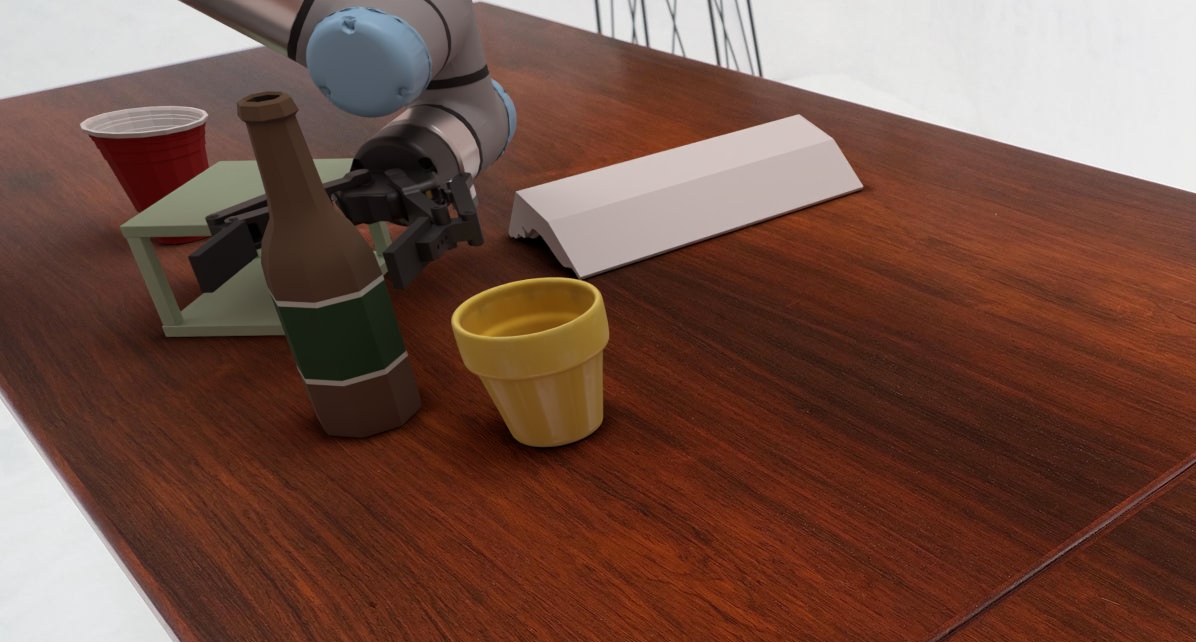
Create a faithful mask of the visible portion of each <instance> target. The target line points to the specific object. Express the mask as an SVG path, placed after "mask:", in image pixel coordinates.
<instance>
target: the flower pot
mask: <svg viewBox="0 0 1196 642" xmlns="http://www.w3.org/2000/svg"><path fill="white" fill-rule="evenodd" d="M450 319H451V321H450V323H451V329H452V331H453V332H452V333H453V335H454V339H455V342H456V346H457V348H458V352H459V354H460V356H461V359H462V362H463V364H464V366H465V367H466V368H467V370H469V372H471V373H472V374H475V375H476V376H478V377H479V379H480V381H481V383H482V385H483V386H484V388H485V389H486V391H487V393H488V395H489V396H490V398H491V400H492V401H493V403H494V405H495V407H496V409H497V411H498V413H499V414H500V416H501V418H502V420H503V421H504V423H505V425H506V427H507V428H508V429H507V430H509V433H510V434H511V435H512V437H513V438H514V439H515V440H516V441H517V442H519V443H520V444H523V445H526V446H529V447H534V448H535V447H536V448H551V447H560V446H564V445H568V444H572V443H575V442H578V441H581V440H583V439H585V438H587V437H589V436H590V435H592V434H594V433H595V431H597V430H598V429H599V427H600V426H601V425H602V423H603V419H604V379H603V378H604V368H603V367H604V349H605V348H606V347H607V345H608V343H609V340H610V328H609V321H608V316H607V311H606V306H605V303H604V299H603V296H602V294H601V291H600V290H599V289H598V288H597V287H596V286H594V285H593V284H592V283H590V282H587V281H585V280H582V279H581V280H579V279H576V278H571V277H570V278H569V277H536V278H535V277H534V278H529V279H523V280H522V279H521V280H516V281H511V282H508V283H504V284H501V285H497V286H494V287H491V288H488V289H486V290H484V291H481V292H479V293H477V294H475V295H473V296H471V297H470V298H468V299H466V300H465V301H463V303H461V304H459V306H458V307H457V308H456V309H455V310H454V312H453V314H452V315H451V318H450Z"/></svg>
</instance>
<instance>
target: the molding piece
mask: <svg viewBox="0 0 1196 642" xmlns="http://www.w3.org/2000/svg"><path fill="white" fill-rule="evenodd" d="M863 188H864V185H863V183H862V182H861V180H860V178H859V177H858V175H857V174H856V172H855V170H854V169H853V168H852V166H851V164H850V162H849V161H848V159H847V158H846V157H845V155H844V153H843V151H842V150H841V148H840V147H839V145H838V144H837V142H836V139H834V138H833V137H831V136H830V135H829V134H827V133H826V132H825V131H823V130H822V129H821V128H819V127H817V126H816V125H815V124H814V123H812V122H811V121H809V120H808V119H807V118H805V117H804V116H802V115H801V114H799V113H798V114H795V115H791V116H787V117H784V118H780V119H777V120H772V121H770V122H766V123H762V124H758V125H755V126H751V127H747V128H744V129H743V128H742V129H740V130H736V131H733V132H730V133H725V134H722V135H718V136H714V137H711V138H707V139H703V140H700V141H696V142H692V143H688V144H685V145H681V146H678V147H674V148H670V149H666V150H663V151H659V152H656V153H652V154H649V155H644V156H641V157H637V158H634V159H630V160H626V161H622V162H619V163H615V164H611V165H608V166H604V167H600V168H597V169H594V170H590V171H586V172H582V173H577V174H575V175H572V176H567V177H563V178H560V179H557V180H552V181H549V182H545V183H542V184H538V185H534V186H531V187H527V188H524V189H519V190H516V191H515V193H514V198H513V205H512V210H511V216H510V220H509V225H508V231H507V233H508V235H509V237H510V238H514V239H520V238H523V239H526V238H530V239H536V238H539V236H541V238H542V240H543V241H544V243H546V245H547V246H548V247H549V249H550V251H551V253H553V255H554V256H555V258H556V259H557V261H558V262H559V264H561V265H562V266H563V267H564V268H568V269H571V270H572V271H573V272H574V274H575V275H576V277H577V278H578V280H581V281H582V280H584V279H587V278H591V277H595V276H597V275H600V274H603V273H605V272H609V271H612V270H616V269H618V268H621V267H625V266H628V265H631V264H635V263H636V262H640V261H643V260H647V259H650V258H652V257H656V256H659V255H662V254H665V253H669V252H672V251H675V250H678V249H681V248H684V247H687V246H690V245H691V246H692V245H693V244H697V243H700V242H703V241H706V240H710V239H713V238H715V237H719V236H721V235H725V234H728V233H731V232H735V231H737V230H740V229H743V228H747V227H750V226H753V225H755V224H759V223H762V222H765V221H768V220H771V219H775V218H777V217H781V216H784V215H787V214H789V213H794V212H797V211H800V210H802V209H806V208H809V207H812V206H815V205H818V204H821V203H824V202H827V201H831V200H834V199H837V198H839V197H843V196H847V195H850V194H852V193H856V192H859V191H862V190H863Z"/></svg>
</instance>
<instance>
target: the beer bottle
mask: <svg viewBox="0 0 1196 642" xmlns="http://www.w3.org/2000/svg"><path fill="white" fill-rule="evenodd" d="M299 110H300V109H299V107H298V106H297V104H296V103H295V101H294V100H293V98H292V97H291V95H290V94H289V93H288V92H284V91H273V90H272V91H271V90H270V91H267V90H266V91H262V92H256V93H251V94H248V95H247V96H245V97H242V98H241V99H239V100H237V101H236V114H237V117H238V118H239V119H240V121H242V123H243V122H244V124H245V126H246V130H247V133H248V137H249V140H250V143H251V147H252V151H253V154H254V158H255V160H256V161H257V165H258V169H259V172H260V176H261V179H262V183H263V186H264V190H265V193H266V197H267V204H268V210H269V217H270V218H269V221H268V224H267V227H266V230H265V233H264V236H263V239H262V245H261V265H262V269H263V272H264V276H265V279H266V283H267V287H268V290H269V292H270V295H271V298H272V300H273V303H274V306H275V309H276V311H277V314H278V317H279V319H280V322H281V325H282V328H283V330H284V333H285V335H284V336H285V338H286V341H287V344H288V346H289V349H290V352H291V354H292V358H293V360H294V362H295V366H296V368H297V371H298V373H299V376H300V379H301V382H302V385H303V387H304V391H305V393H306V395H307V398H308V400H309V403H310V406H311V407H312V409H313V411H314V414H315V416H316V418H317V420H318V421H319V423H320V425H321V426H322V428H323V430H324V432H325V434H327V435H328V436H330V437H343V438H344V437H345V438H356V439H357V438H360V439H364V438H368V437H371V436H375V435H378V434H381V433H384V432H387V431H390V430H394V429H397V428H401V427H402V426H404V424H405V423H406V422H408V421H409V420H410V419H411V418H412V417H413V416H414V415H415V414H416V413H418V411H420V410H421V407H422V400H421V396H420V392H419V387H418V383H417V380H416V377H415V373H414V371H413V367H412V364H411V361H410V357H409V354H408V351H407V348H406V344H405V341H404V338H403V335H402V332H401V328H400V325H399V322H398V319H397V316H396V312H395V309H394V306H393V303H392V300H391V296H390V293H389V290H388V287H387V284H386V280H385V277H384V276H383V274H382V271H381V269H380V266H379V264H378V261H377V259H376V256H375V254H374V252H373V251H374V249H372V247H371V245H370V244H369V243H368V242H367V240H366V239H365V238H364V236H363V234H361V232H360V230H359V229H358V228H356V227H357V226H354V225H353V224H352V223H351V221H350V220H349V219H347V218H346V217H345V215H344V214H343V213H342V212H341V211H340V210H338V209H337V208H336V207H335V205H334V203H333V204H332V202H333V201H332V202H331V200H330V198H329V197H328V195H327V193H326V191H325V189H324V186H323V184H322V181H321V179H320V176H319V174H318V171H317V169H316V166H315V164H314V161H313V159H314V158H313V156H312V153H311V151H310V149H309V146H308V144H307V141H306V139H305V136H304V133H303V131H302V128H301V126H300V123H299V120H298V119H297V116H296V114H297V113H298V112H299ZM333 205H334V206H333Z"/></svg>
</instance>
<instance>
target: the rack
mask: <svg viewBox="0 0 1196 642" xmlns="http://www.w3.org/2000/svg"><path fill="white" fill-rule="evenodd" d="M353 158H354V157H353ZM353 158H351V157H347V158H312V159H313V161H314V164H315V166H316V169H317V171H318V174H319V176H320V179H321V181H322V183H326V182H329V181H333V180H336V179H340V178H343V177H344V176H345V174H346V173H348V172H350V168H351V165H352V161H353ZM263 194H266V193H265V190H264V186H263V183H262V179H261V176H260V172H259V169H258V165H257V161H256V159H255V160H254V159H251V160H250V159H249V160H219V161H217V162H216V163H214V164H213V165H211V166H209V168H208V169H207V170H205V171H204V172H202V173H201V174H199V175H197V176H196V177H194V178H193V179H191V180H190V181H188V182H187V183H185V184H184V185H182V186H181V187H179V188H178V189H176V190H174V191H173V192H171V193H170V194H168V195H167V196H165V197H164V198H162V199H161V200H159V201H158V202H156V203H155V204H153V205H152V206H150V207H148V208H147V209H145V210H144V211H142V212H141V213H139V212H138V213H137V214H136V215H135V216H132V218H130V219H128V220H127V221H126V222H124V223H122V224H121V225H120V226H119V229H120V232H121V234H122V237H123V238H125V239H126V242H127V243H128V246H129V249H130V251H131V253H132V255H133V258H134V261H135V262H136V265H137V268H138V270H139V271H140V274H141V277H142V279H143V281H144V284H145V286H146V288H147V291H148V293H149V296H150V297H151V301H152V302H153V305H154V307H155V309H156V312H157V314H158V316H159V319H160V321H161V323H162V326H161V328H162V330H163V333H164V335H165V337H166V338H182V337H189V338H191V337H244V336H245V337H246V336H247V337H249V336H251V337H252V336H253V337H254V336H257V337H258V336H285V333H284V330H283V328H282V325H281V322H280V319H279V317H278V314H277V311H276V309H275V306H274V303H273V300H272V298H271V295H270V292H269V290H268V287H267V283H266V279H265V276H264V272H263V269H262V265H261V249H258V250H256V251H257V253H258V256H257V257H256V258H255V259H254V260H252V262H250V263H249V264H248V265H246V266H245V267H244V268H243V269H241V270H240V271H239V272H238V273H237V274H235V275H234V276H233V277H232V278H230V279H229V280H228V281H227V282H225V283H224V284H223V285H222V286H221V287H219V288H218V289H217V290H216V291H214V292H213V293H202V294H201V295H200V296H198V297H197V298H196V299H195V300H193V301H192V302H191V303H189V304H188V305H187V306H186V307H184V308H183V309H182V310H180V307H179V305H178V303H177V300H176V297H175V295H174V293H173V290H172V288H171V286H170V283H169V281H168V278H167V276H166V274H165V272H164V268H163V267H162V264H161V262H160V260H159V256H158V254H157V252H156V250H155V249H156V248H155V247H154V245H153V242H152V239H151V238H155V237H185V236H208V237H212V235H211V233H210V230H209V228H208V225H207V222H206V220H205V217H206V216H208V215H210V214H212V213H216V212H218V211H221V210H223V209H226V208H229V207H231V206H234V205H237V204H239V203H242V202H245V201H247V200H250V199H252V198H255V197H258V196H260V195H263ZM367 226H368V230H369V233H370V236H371V239H372V243H373V246H374V249H375V250H373V252H374V254H375V256H376V259H377V261H378V264H379V266H380V269H381V271H382V274H383V277H384V276H385V275H386V274H387V273H388V270H387V267H386V263H385V260H384V257H383V254H382V253H383V252H384V251H385V250H386V249H387V248H388V247H389V246H390V245H391V244H392V243H393V241H392V238H391V234H390V232H389V228H388V225H387V221H380V222H377V223H373V224H369V225H368V224H367Z"/></svg>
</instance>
